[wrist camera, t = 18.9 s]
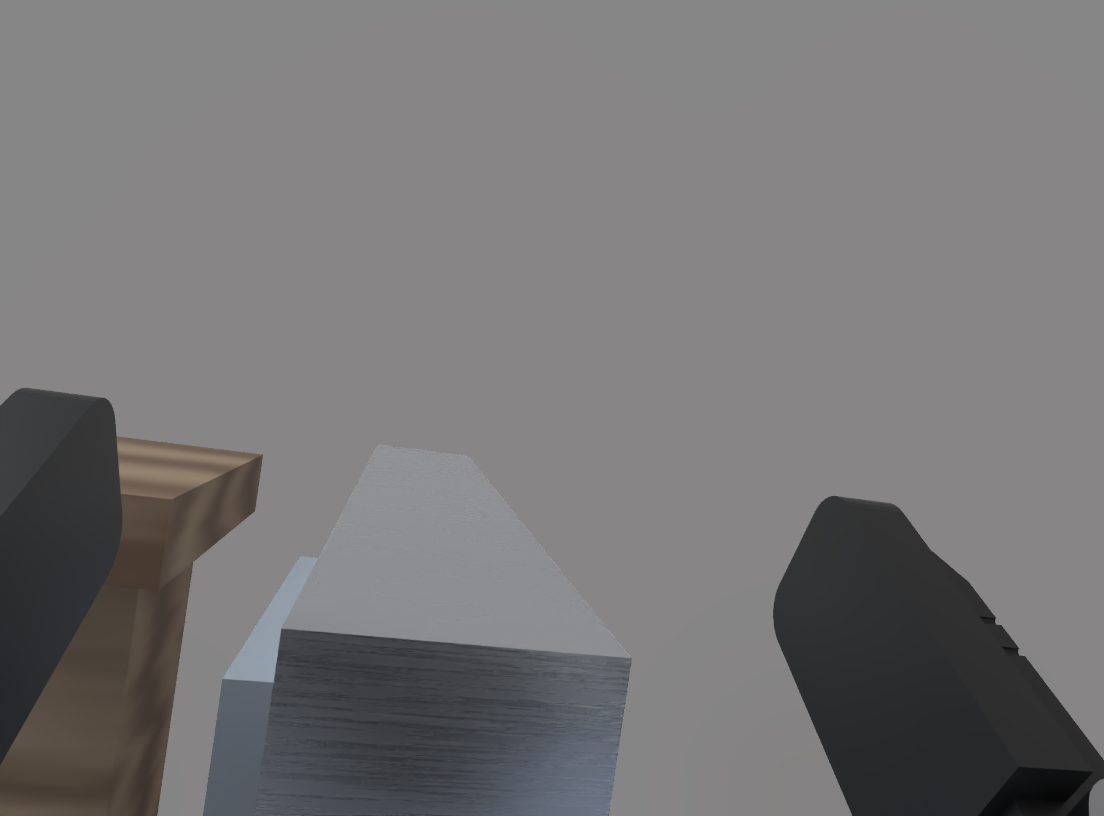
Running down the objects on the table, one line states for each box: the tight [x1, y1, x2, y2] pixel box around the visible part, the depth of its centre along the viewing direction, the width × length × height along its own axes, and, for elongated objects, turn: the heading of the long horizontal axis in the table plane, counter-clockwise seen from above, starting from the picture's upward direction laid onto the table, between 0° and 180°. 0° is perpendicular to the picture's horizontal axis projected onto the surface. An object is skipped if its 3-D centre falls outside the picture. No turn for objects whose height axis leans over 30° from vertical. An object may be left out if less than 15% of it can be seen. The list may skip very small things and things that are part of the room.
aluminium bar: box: [255, 444, 632, 816], centre depth 22 cm, size 26×4×4 cm, turn 10°
